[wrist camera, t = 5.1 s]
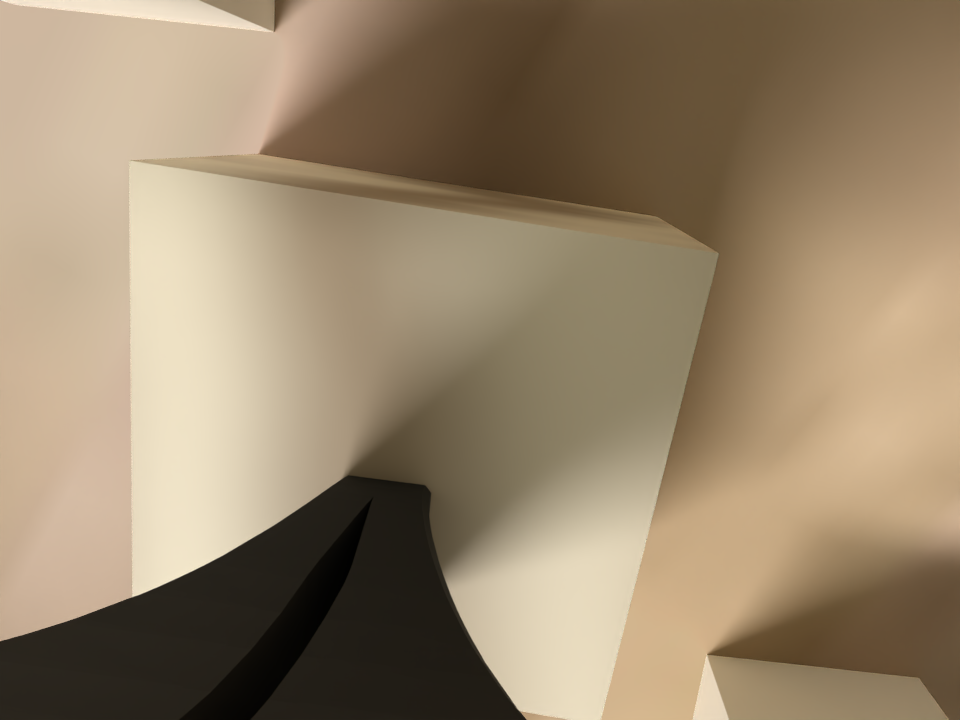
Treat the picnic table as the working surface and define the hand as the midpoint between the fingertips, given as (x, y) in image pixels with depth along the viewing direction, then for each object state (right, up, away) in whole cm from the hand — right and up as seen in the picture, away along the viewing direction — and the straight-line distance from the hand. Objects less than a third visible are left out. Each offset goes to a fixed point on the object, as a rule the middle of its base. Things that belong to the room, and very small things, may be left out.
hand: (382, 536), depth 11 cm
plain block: (0, +3, +4) cm, 5 cm away
